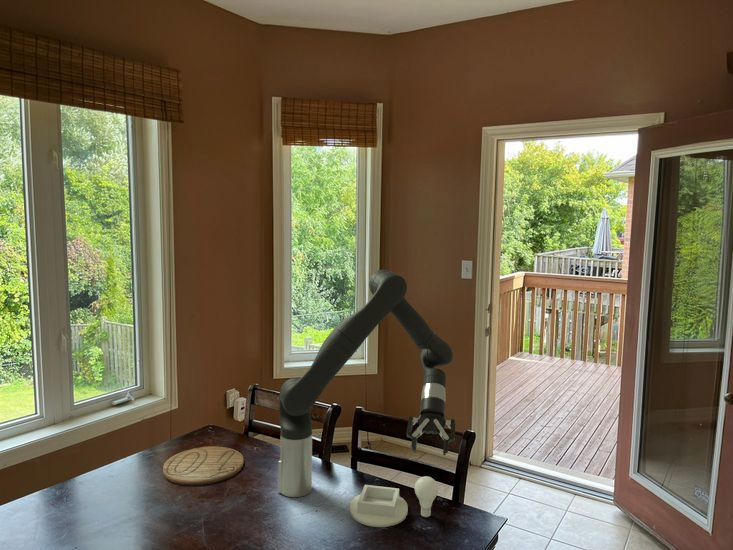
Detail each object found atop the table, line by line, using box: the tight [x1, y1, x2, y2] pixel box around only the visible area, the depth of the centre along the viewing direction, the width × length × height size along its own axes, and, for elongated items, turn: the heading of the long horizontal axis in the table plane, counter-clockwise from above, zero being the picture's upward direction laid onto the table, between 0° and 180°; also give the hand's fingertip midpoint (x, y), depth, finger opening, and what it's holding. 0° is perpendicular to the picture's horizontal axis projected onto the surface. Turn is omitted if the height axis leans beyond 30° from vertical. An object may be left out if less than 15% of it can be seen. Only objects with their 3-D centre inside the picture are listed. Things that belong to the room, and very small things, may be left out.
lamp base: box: [349, 484, 409, 528], centre depth 145 cm, size 16×16×4 cm
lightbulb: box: [414, 475, 439, 518], centre depth 142 cm, size 6×6×11 cm
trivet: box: [162, 446, 245, 486], centre depth 170 cm, size 25×25×2 cm
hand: (429, 452), depth 151 cm, fingers open, 8 cm apart
